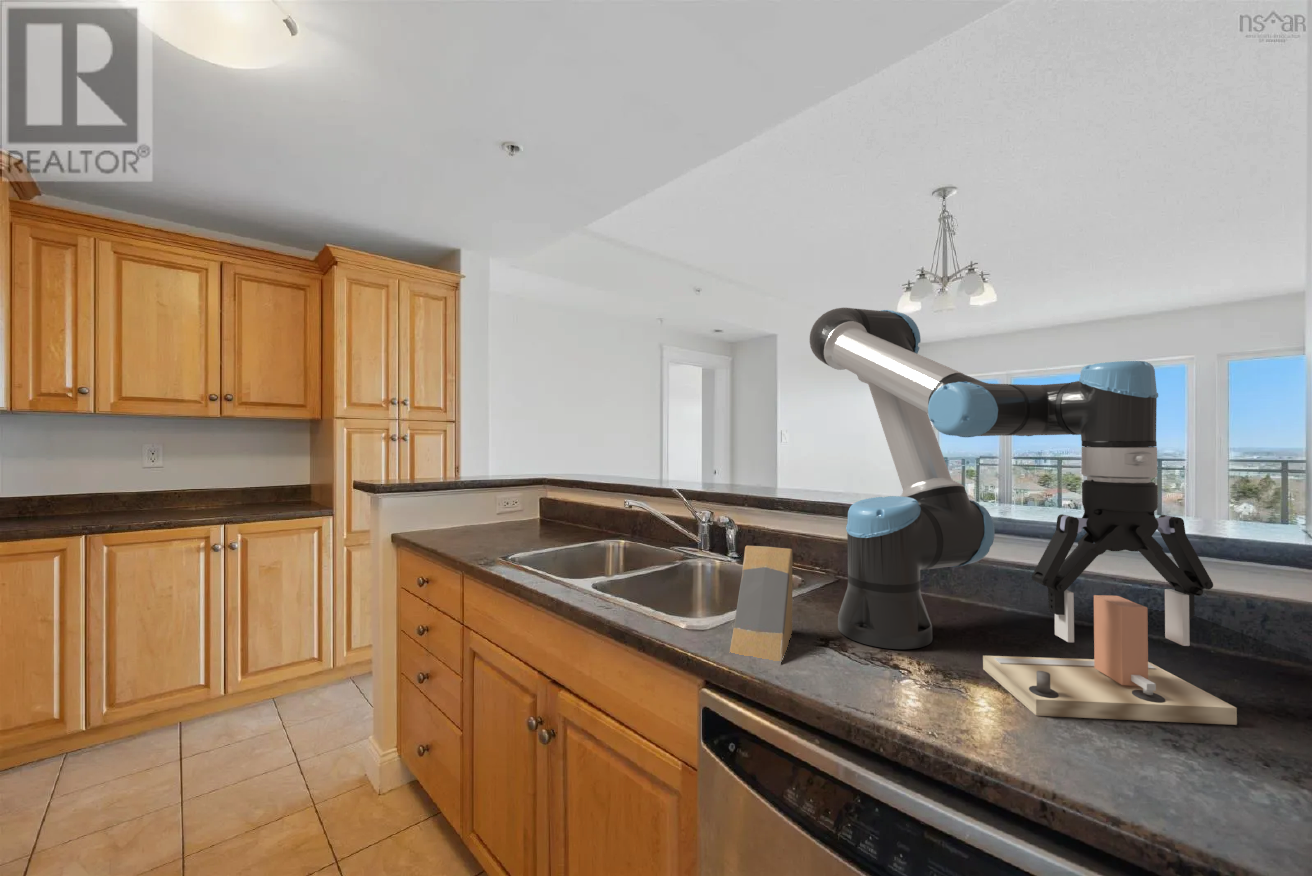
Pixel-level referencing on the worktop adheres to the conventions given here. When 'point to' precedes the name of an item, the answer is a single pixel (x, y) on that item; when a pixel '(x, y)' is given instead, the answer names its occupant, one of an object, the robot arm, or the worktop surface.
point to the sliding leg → (1122, 641)
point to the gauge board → (1103, 692)
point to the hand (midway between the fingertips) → (1120, 640)
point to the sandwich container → (764, 604)
